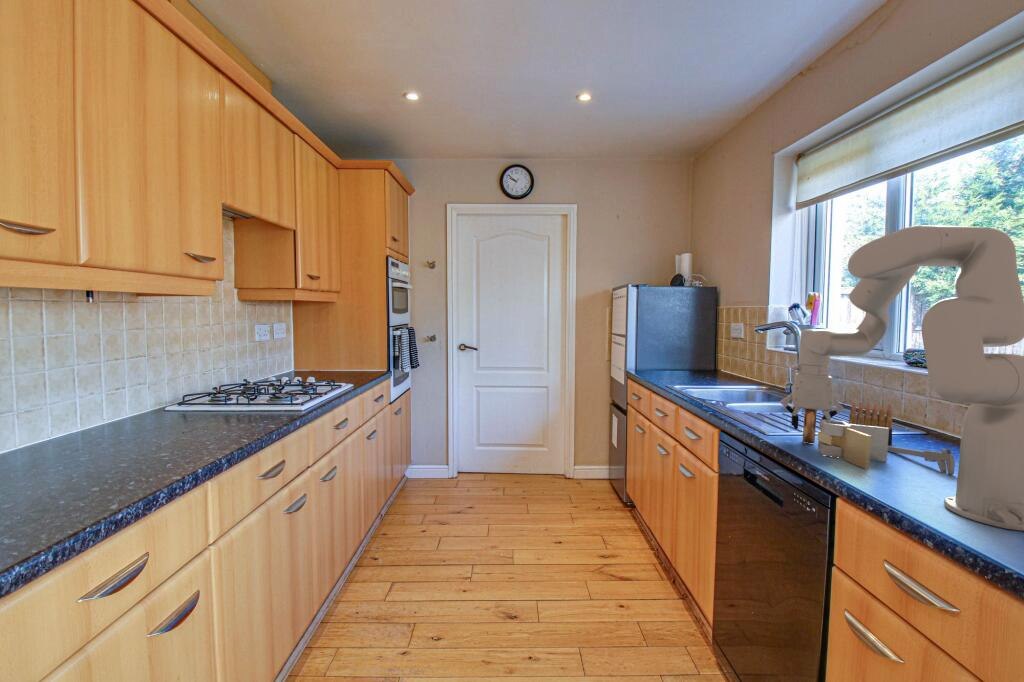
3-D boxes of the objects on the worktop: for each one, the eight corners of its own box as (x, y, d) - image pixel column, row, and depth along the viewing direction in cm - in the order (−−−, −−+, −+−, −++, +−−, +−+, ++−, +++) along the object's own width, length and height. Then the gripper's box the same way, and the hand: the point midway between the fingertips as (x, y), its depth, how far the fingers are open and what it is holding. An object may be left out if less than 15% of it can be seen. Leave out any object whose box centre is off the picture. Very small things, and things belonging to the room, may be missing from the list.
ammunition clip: (889, 443, 130) (892, 404, 129) (891, 445, 128) (895, 406, 127) (846, 439, 134) (849, 401, 133) (848, 440, 132) (851, 402, 131)
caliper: (954, 476, 105) (956, 451, 104) (949, 476, 105) (952, 451, 104) (884, 449, 125) (886, 428, 125) (880, 449, 125) (882, 428, 125)
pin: (815, 444, 127) (818, 405, 126) (803, 443, 129) (806, 403, 128) (813, 442, 130) (816, 403, 129) (801, 440, 131) (804, 402, 130)
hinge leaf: (877, 469, 107) (879, 436, 107) (856, 468, 107) (858, 435, 107) (835, 450, 121) (837, 421, 121) (816, 450, 121) (818, 421, 121)
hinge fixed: (889, 465, 111) (892, 430, 110) (822, 456, 117) (824, 423, 117) (881, 458, 116) (884, 425, 116) (817, 450, 122) (820, 418, 122)
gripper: (781, 369, 128) (777, 428, 129) (853, 374, 121) (848, 437, 122) (777, 367, 135) (774, 423, 136) (845, 371, 127) (841, 430, 129)
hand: (809, 429), depth 129 cm, fingers open, 6 cm apart
